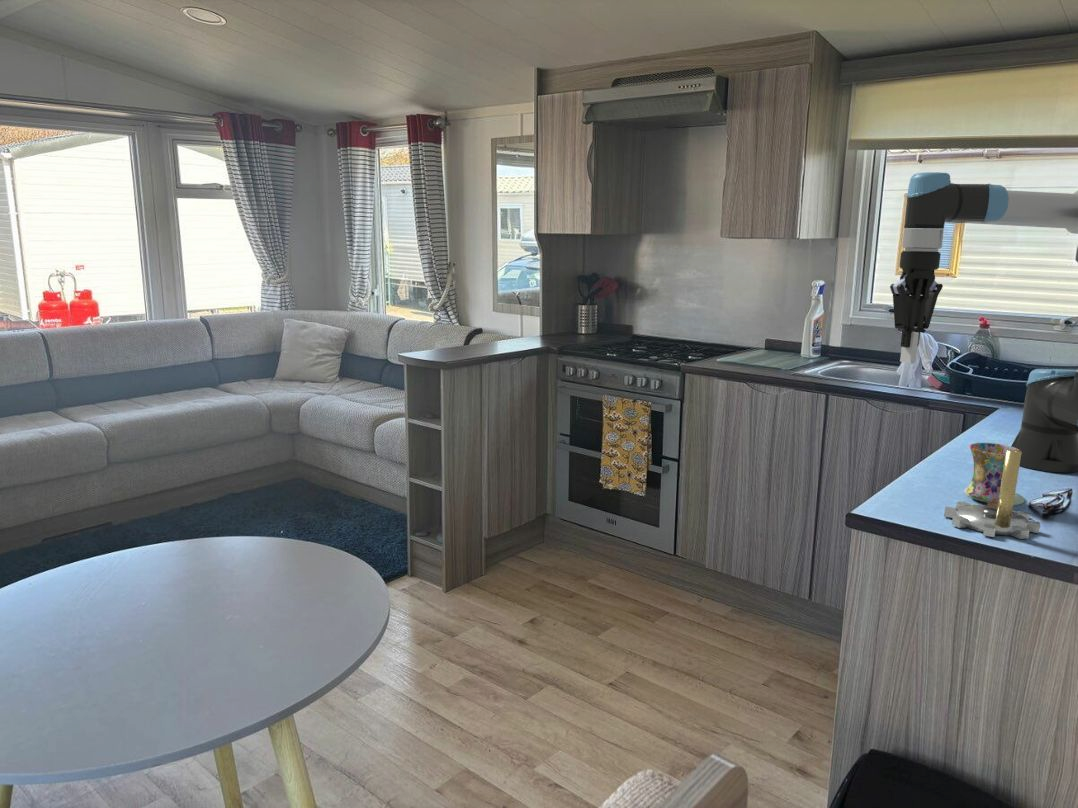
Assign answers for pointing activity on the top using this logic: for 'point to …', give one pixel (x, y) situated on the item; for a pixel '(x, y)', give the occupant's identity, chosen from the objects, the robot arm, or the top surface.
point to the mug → (987, 470)
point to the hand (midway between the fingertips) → (907, 362)
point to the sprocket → (997, 508)
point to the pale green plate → (1017, 501)
